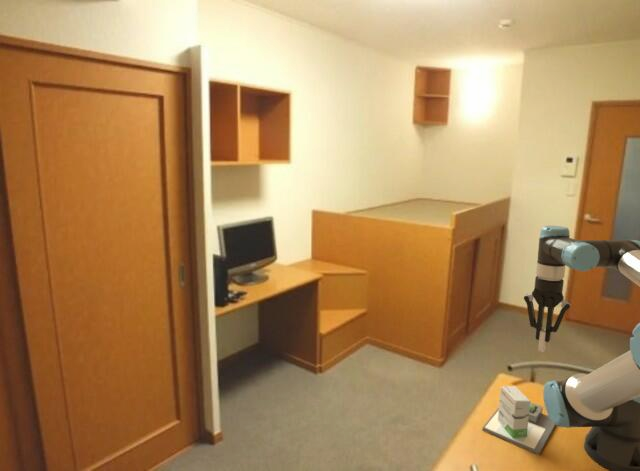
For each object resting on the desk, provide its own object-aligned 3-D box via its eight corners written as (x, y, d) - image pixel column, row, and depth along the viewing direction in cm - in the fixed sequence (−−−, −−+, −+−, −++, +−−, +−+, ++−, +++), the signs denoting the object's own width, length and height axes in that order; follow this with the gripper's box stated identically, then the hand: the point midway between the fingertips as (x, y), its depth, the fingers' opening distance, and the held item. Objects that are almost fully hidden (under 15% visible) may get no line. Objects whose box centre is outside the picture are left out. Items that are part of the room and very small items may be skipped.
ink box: (527, 437, 125) (532, 400, 123) (511, 438, 125) (515, 402, 122) (511, 418, 134) (515, 384, 131) (496, 419, 133) (500, 385, 131)
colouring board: (557, 421, 134) (558, 412, 133) (539, 455, 119) (540, 444, 119) (505, 401, 144) (506, 393, 144) (482, 430, 130) (483, 420, 129)
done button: (535, 412, 136) (536, 405, 136) (532, 418, 133) (532, 410, 133) (522, 407, 139) (523, 400, 138) (518, 412, 136) (519, 405, 135)
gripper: (576, 278, 127) (567, 351, 131) (529, 270, 135) (522, 340, 139) (572, 284, 121) (562, 360, 126) (523, 276, 129) (516, 348, 134)
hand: (541, 350), depth 133 cm, fingers closed
